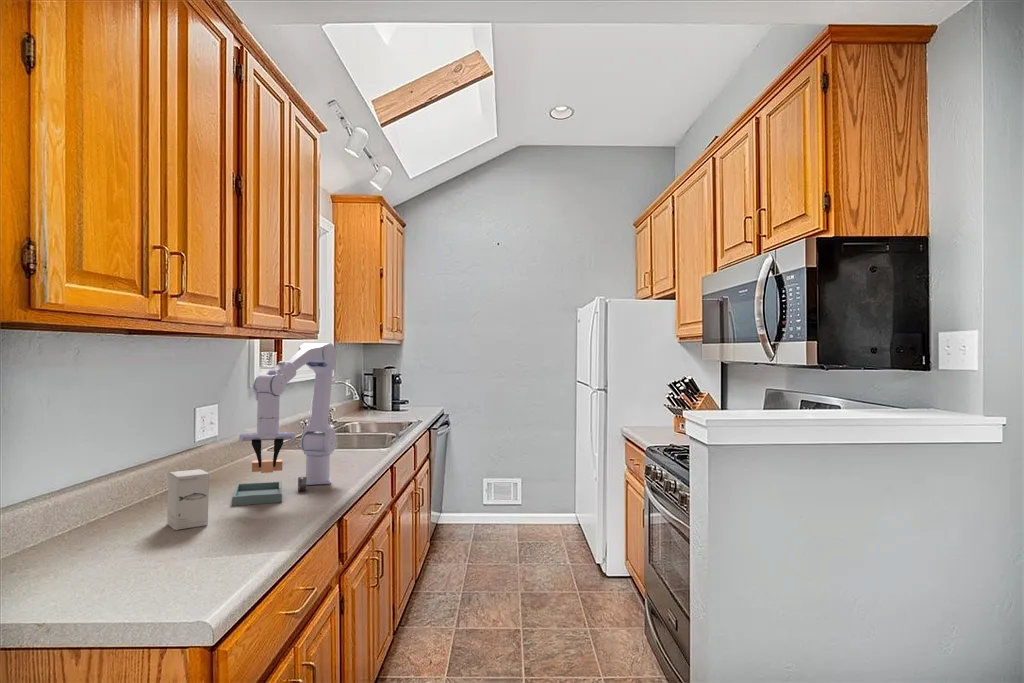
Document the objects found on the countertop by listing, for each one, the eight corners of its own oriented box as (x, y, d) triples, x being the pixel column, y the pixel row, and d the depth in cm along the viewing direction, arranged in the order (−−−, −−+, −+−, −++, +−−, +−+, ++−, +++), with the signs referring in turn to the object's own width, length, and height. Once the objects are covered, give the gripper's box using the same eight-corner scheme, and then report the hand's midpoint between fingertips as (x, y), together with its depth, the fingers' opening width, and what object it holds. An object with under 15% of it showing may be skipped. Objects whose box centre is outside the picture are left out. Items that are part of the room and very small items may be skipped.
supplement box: (174, 531, 147) (175, 476, 147) (166, 524, 153) (167, 471, 153) (208, 525, 152) (209, 472, 152) (199, 519, 158) (200, 468, 158)
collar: (252, 469, 185) (253, 458, 185) (282, 467, 188) (282, 457, 188) (251, 473, 174) (251, 462, 174) (282, 471, 177) (282, 461, 177)
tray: (236, 491, 187) (236, 483, 187) (281, 489, 191) (281, 481, 191) (232, 505, 171) (232, 496, 171) (281, 502, 176) (282, 493, 176)
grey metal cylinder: (297, 490, 190) (297, 476, 190) (306, 489, 191) (306, 476, 191) (297, 492, 188) (298, 478, 188) (306, 491, 188) (306, 478, 188)
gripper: (239, 419, 171) (238, 470, 171) (296, 418, 176) (295, 467, 176) (240, 416, 178) (239, 465, 177) (295, 415, 183) (294, 463, 183)
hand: (267, 466), depth 177 cm, fingers closed on collar, 3 cm apart
